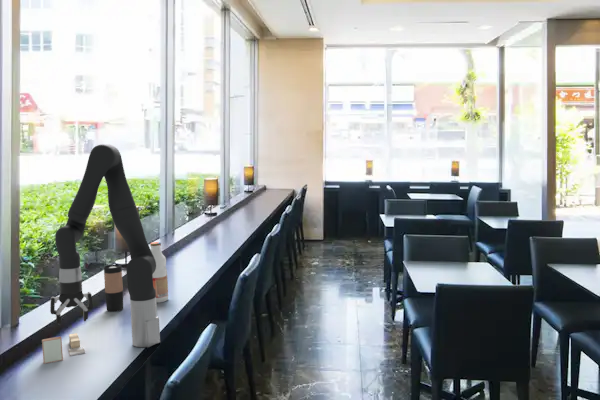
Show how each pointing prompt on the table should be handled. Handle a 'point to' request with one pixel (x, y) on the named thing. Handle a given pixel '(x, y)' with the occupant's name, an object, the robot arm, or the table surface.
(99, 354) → the table surface
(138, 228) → the robot arm
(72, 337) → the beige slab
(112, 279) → the travel mug
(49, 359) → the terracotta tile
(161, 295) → the fruit juice
